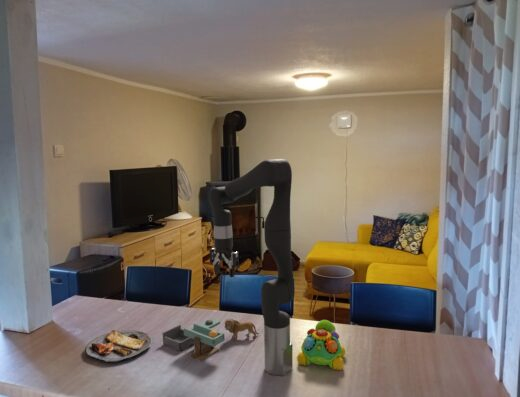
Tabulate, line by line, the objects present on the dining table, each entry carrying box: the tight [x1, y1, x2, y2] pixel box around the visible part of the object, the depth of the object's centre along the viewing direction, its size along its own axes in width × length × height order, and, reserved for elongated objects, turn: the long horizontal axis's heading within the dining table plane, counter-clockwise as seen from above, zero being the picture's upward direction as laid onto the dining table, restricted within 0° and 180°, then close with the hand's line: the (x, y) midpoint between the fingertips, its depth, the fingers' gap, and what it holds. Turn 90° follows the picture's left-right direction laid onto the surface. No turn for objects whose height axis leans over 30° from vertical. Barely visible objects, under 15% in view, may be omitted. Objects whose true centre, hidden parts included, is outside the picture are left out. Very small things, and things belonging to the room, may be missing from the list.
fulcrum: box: [189, 337, 220, 362], centre depth 159 cm, size 6×10×8 cm, turn 142°
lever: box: [183, 318, 226, 347], centre depth 163 cm, size 16×16×3 cm
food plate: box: [84, 329, 153, 362], centre depth 165 cm, size 25×23×4 cm
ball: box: [209, 330, 217, 338], centre depth 156 cm, size 3×3×3 cm
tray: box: [162, 324, 194, 352], centre depth 168 cm, size 10×9×5 cm
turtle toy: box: [296, 319, 346, 371], centre depth 155 cm, size 17×23×12 cm
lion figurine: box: [224, 318, 259, 341], centre depth 172 cm, size 15×5×9 cm, turn 107°
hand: (224, 275), depth 168 cm, fingers open, 7 cm apart
